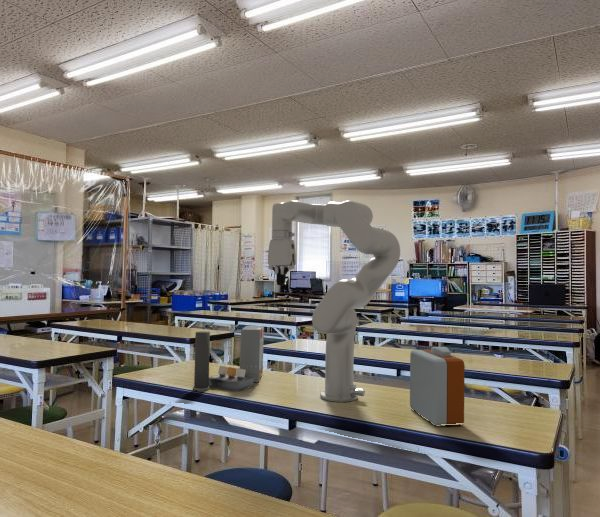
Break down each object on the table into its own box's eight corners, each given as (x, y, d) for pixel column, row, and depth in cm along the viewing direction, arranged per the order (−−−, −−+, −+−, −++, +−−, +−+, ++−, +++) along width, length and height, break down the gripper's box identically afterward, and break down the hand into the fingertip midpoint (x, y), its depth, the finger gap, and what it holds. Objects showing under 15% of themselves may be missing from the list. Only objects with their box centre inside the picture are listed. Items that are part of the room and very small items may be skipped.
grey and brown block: (465, 427, 128) (465, 352, 129) (435, 428, 127) (436, 352, 128) (435, 407, 147) (435, 342, 147) (408, 408, 145) (409, 342, 146)
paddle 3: (226, 377, 173) (228, 367, 174) (221, 375, 170) (223, 366, 171) (222, 376, 173) (224, 367, 174) (217, 375, 171) (219, 365, 172)
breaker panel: (253, 386, 170) (253, 377, 170) (238, 391, 162) (239, 382, 162) (222, 381, 177) (222, 372, 177) (207, 386, 169) (207, 377, 169)
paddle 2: (235, 378, 171) (237, 368, 172) (230, 377, 168) (232, 367, 169) (231, 377, 171) (233, 368, 173) (226, 376, 169) (228, 366, 170)
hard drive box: (259, 383, 175) (260, 329, 176) (238, 382, 176) (239, 329, 176) (263, 374, 191) (264, 325, 192) (244, 373, 191) (245, 325, 192)
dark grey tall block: (212, 388, 166) (213, 332, 166) (202, 391, 161) (203, 333, 161) (200, 386, 168) (201, 331, 169) (189, 389, 163) (191, 332, 164)
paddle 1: (243, 379, 169) (245, 370, 170) (239, 378, 166) (241, 368, 167) (239, 379, 170) (241, 369, 171) (235, 378, 167) (237, 368, 168)
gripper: (304, 236, 174) (303, 285, 174) (270, 237, 181) (269, 284, 181) (294, 234, 168) (293, 285, 167) (259, 235, 175) (258, 284, 174)
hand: (280, 285), depth 174 cm, fingers closed
